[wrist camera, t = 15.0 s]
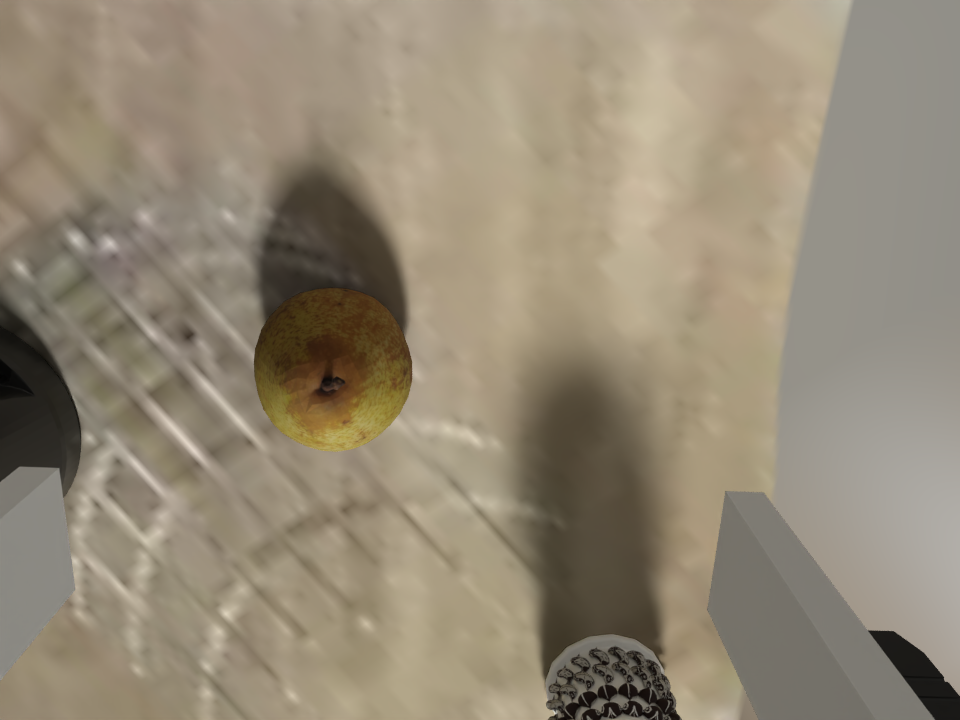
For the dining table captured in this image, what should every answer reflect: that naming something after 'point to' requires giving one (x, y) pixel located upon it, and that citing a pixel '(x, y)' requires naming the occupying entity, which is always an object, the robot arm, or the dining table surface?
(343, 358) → the fruit
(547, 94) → the dining table surface
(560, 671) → the decorative candle
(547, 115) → the dining table surface
